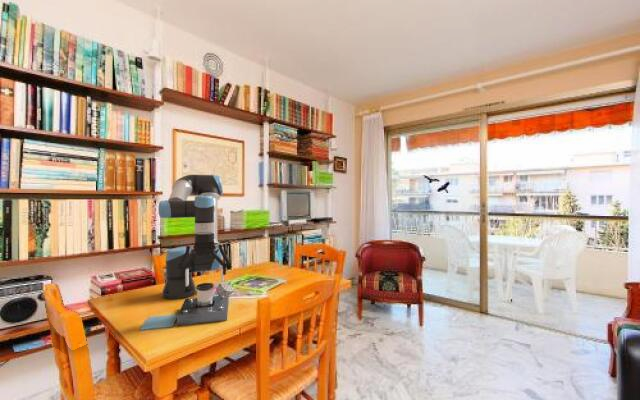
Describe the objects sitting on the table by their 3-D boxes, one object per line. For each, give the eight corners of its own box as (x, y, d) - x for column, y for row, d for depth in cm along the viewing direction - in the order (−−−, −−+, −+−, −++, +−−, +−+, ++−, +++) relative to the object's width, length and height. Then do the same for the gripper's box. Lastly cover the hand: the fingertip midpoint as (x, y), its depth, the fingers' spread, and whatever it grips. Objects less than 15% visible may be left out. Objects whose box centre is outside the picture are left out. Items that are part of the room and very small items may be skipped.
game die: (222, 307, 138) (210, 294, 133) (220, 295, 145) (209, 282, 140) (239, 297, 139) (228, 283, 134) (237, 286, 146) (226, 272, 141)
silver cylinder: (197, 311, 124) (197, 283, 123) (214, 309, 125) (214, 282, 125) (195, 318, 117) (195, 288, 117) (213, 316, 119) (212, 287, 119)
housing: (185, 308, 128) (185, 297, 127) (228, 303, 132) (228, 293, 132) (177, 325, 110) (177, 313, 110) (227, 320, 115) (226, 308, 115)
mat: (148, 318, 117) (148, 317, 117) (178, 315, 120) (178, 314, 120) (139, 330, 106) (139, 329, 106) (172, 327, 109) (172, 325, 109)
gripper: (169, 235, 114) (169, 289, 114) (235, 232, 120) (236, 283, 120) (173, 232, 121) (173, 283, 121) (235, 230, 128) (236, 279, 128)
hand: (204, 284), depth 121 cm, fingers open, 13 cm apart
